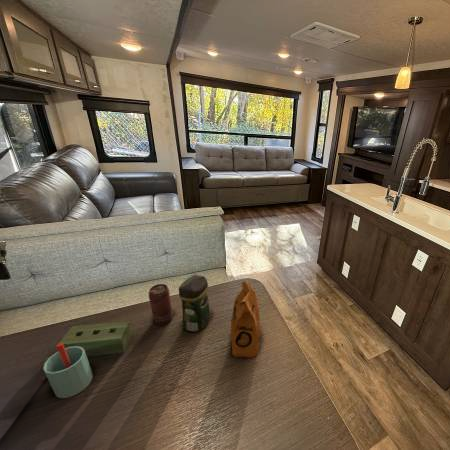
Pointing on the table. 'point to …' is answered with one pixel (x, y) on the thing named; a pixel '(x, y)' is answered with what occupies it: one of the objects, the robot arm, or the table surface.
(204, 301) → the coffee jar
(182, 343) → the table surface
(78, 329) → the straw holder
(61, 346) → the straw
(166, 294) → the can
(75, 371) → the tumbler
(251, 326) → the coffee package
